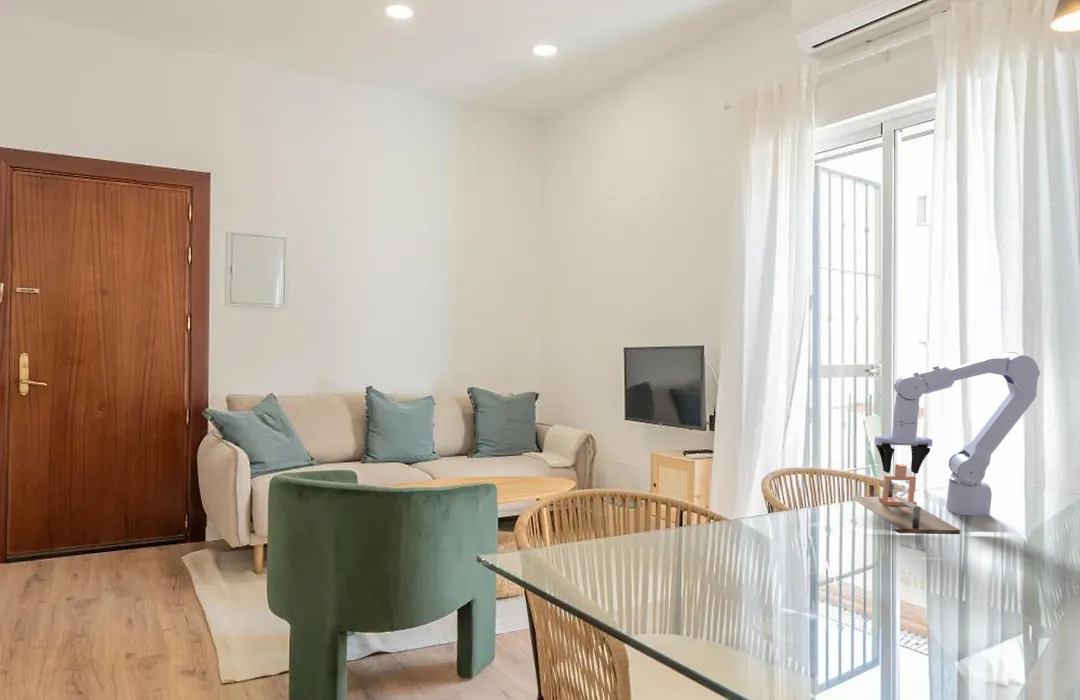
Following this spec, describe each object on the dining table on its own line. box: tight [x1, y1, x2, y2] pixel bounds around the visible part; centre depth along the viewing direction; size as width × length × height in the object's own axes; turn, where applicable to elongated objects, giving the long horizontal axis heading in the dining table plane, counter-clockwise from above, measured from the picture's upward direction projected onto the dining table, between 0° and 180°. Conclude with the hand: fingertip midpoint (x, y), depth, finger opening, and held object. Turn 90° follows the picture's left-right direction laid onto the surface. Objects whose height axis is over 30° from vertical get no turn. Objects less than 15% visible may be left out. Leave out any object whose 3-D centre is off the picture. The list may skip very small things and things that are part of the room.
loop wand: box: [878, 463, 918, 506], centre depth 197 cm, size 8×4×10 cm, turn 93°
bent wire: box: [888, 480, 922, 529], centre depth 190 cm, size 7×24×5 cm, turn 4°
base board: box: [850, 496, 961, 535], centre depth 190 cm, size 15×25×1 cm, turn 4°
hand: (900, 472), depth 197 cm, fingers open, 7 cm apart
